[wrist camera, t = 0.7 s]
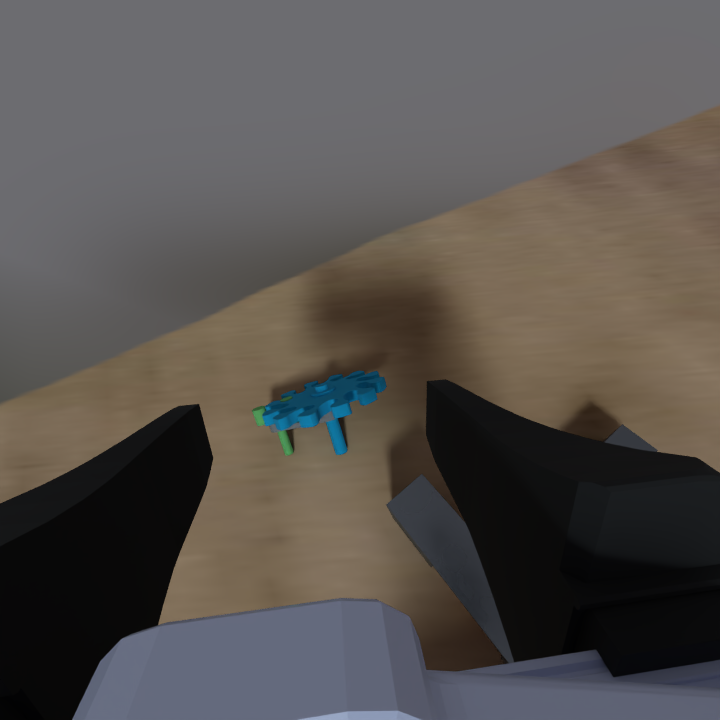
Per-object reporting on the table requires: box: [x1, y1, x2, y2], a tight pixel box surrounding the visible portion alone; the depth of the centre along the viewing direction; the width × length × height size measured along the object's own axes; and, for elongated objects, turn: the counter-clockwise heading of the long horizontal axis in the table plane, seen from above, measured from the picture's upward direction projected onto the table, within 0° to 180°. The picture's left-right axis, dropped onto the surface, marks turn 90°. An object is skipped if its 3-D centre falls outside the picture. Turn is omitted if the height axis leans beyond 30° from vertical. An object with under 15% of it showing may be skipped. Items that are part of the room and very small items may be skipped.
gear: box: [252, 371, 387, 455], centre depth 30 cm, size 11×6×10 cm
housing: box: [386, 474, 514, 664], centre depth 22 cm, size 14×3×5 cm, turn 38°
